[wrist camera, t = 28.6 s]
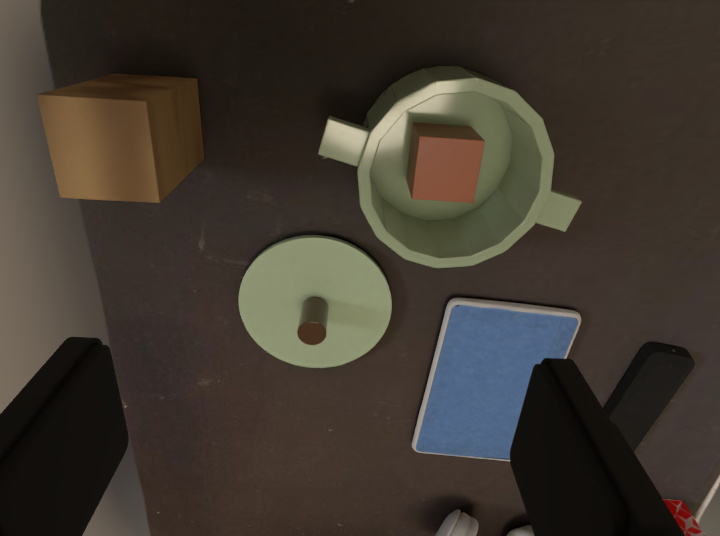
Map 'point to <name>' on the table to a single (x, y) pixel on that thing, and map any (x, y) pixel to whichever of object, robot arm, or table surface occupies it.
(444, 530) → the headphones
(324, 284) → the lid
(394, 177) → the light green round pot
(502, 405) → the tablet
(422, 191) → the block
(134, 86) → the block
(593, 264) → the table surface
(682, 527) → the red and white cube
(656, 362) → the remote control
